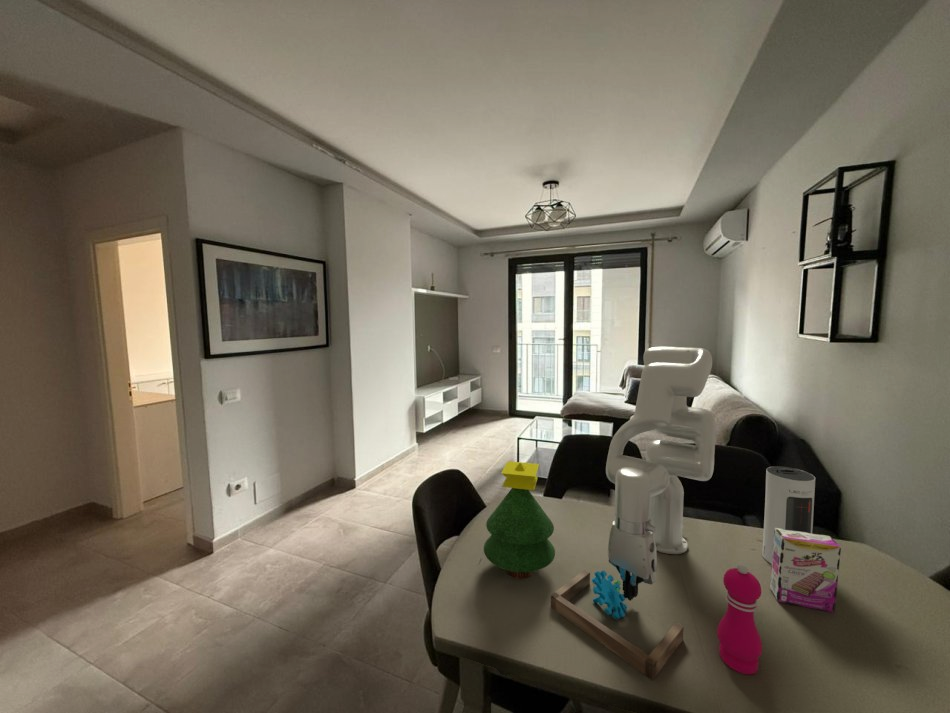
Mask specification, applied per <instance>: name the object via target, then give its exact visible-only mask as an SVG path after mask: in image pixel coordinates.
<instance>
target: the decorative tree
mask: <svg viewBox="0 0 950 713" xmlns="http://www.w3.org/2000/svg"><path fill="white" fill-rule="evenodd" d="M539 466H540V463H531V462H520V461H510V460H507V462H506V463H505V465H504V467H503V470H502V471H501V474H502V475H503V476H504V477H505V479H504V481H503V483H502V486H501V488H509V489H510V490H509V491H508V492H507V494H506V495H505V496H504V497H503V499H502V500H501V502H500V503H499V504H498V506H497V507H496V508H495V510H494V511H493V512H492V513H491V514H490V515H489V517H488V518H487V520H486V524H485V526H486V530H487V531H488V533H489V534H490V536H489V537H488V538H487V540H486V541H485V542H484V543H483V553H484V556H486V557H485V558H486V559H487V560H488V561H489V562H490V563H492V564H493V565H494V566H496V567H498V568H500V569H503V570H504V571H505V573H506V575H507V576H509V577H510V578H512V579H514V580H525V579H528V578H529V577H531V576H532V573H533V572H537V571H539V570H543V569H544V568H545V569H546V567H548V566H549V565H550V564H552V562H553V561H554V559H555V558H556V550H555V547H554V545H553V544H552V542H551V541H550V539H549V538H550V537H551V536H552V534H553V533H554V530H555V525H554V523H553V521H552V520H551V519H550V518H549V516H548V515H547V514H546V512H545V511H544V509H543V508H542V507H541V505H540V504H539V502H538V501H537V499H536V498H535V497H534V495H533V494H532V493H531V492H530V491H535V489H536V485H537V481H538V476H537V473H538V470H539Z"/></svg>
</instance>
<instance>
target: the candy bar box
mask: <svg viewBox="0 0 950 713" xmlns="http://www.w3.org/2000/svg"><path fill="white" fill-rule="evenodd" d="M841 553H842V546H841V545H840V544H839V543H837V541H835V540H834V539H833V538H832V537H831V536H830V535H825V534H820V533H819V534H818V533H814V532H812V533H806V532H799V531H793V530H786V529H780V528H775V530H774V542H773V554H772V564H771V568H770V571H771V572H770V579H769V580H770V583H769V590H770V591H771V593H772V595H773V596H774V598H775V600H776V601H777V602H778V603H784V604H790V605H793V606H794V605H795V606H799V607H804V608H809V609H815V610H817V611H818V610H819V611H825V612H828V613H835V611H836V601H837V592H838V591H837V590H838V583H839V582H838V579H839V571H840V562H841V561H840V560H841Z"/></svg>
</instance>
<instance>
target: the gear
mask: <svg viewBox="0 0 950 713" xmlns="http://www.w3.org/2000/svg"><path fill="white" fill-rule="evenodd" d="M606 576H607V577H606ZM614 580H615V579H614V576H613V575H612V574H607V572H606V571H605V570H600V571H596V572H594V577H593V578H591V582H592V584H594V585H595V586H594V587H593V588H592V590H593V591H592V592H593V594H595V595H598V596H596V597H594V598H592V601H593V604H595V603H596V604H598V605H599V606H603V605H604V604H605V605H606V606H607V607H606V608H604V612H605V613H606V615H607V616H610V615H612V618H613V619H614V620H616V621H617V620H620V619H621V618H624V617H626V614H625V611H627V610H628V606H627V605H626V604H625V603H624V602H625V601H626V598H625V597H624V593H621V585H622V584H621V581H620V580H619V579H618V580H616V581H614ZM613 581H614V582H613ZM612 582H613V583H612ZM612 611H613V613H612Z"/></svg>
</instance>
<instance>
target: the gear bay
mask: <svg viewBox="0 0 950 713" xmlns="http://www.w3.org/2000/svg"><path fill="white" fill-rule="evenodd" d="M590 580H591V572H589V571H588V570H587V569H584V570H583V571H581V572H580V573H579V574H577V575H575V577H573V578H572V579H570V580H569V581H567V582H566V583H565V584H564V585H562V586H561V587H560V588H558V589H557V590H556V591H554V592H553V593H552V594H550V608H551V609H553V610H554V611H555V612H557V613H559V614H560V615H561V616H563V617H564V618H565V619H567V620H568V621H570V622H571V623H572V624H573V625H575V626H576V627H578V628H579V629H580V630H582V631H583V632H584V633H586V634H587V635H589V636H590V637H592V638H593V639H595V640H596V641H597V642H598V643H600V644H601V645H603V646H604V647H605V648H606V649H608V650H610V651H611V652H613V653H614V654H615V655H617V656H618V657H620V658H621V659H622V660H624V662H626V663H628V664H629V665H630V666H632V667H634V668H635V669H636V670H638V671H639V672H640V673H642V674H643V675H644V676H646V677H647V678H648V679H650V680H652V681H654V680H655V678H656V677H657V676H658V674H659V673H660V672H661V670H662V669H663V668H664V666H665V665H666V664H667V662H668V661H669V660H670V658H671V657H672V655H673V654H674V653H675V651H676V650H677V649H678V647H679V645H680V644H681V643H682V642H683V640H684V629H685V628H684V625H683V624H680V623H679V622H675V623H674V624H673V625H672V627H671V628H670V629H669V630H668V631H667V633H666V634H665V635H664V636H663V638H662V639H661V640H660V641H659V642H658V644H657V645H656V646H655V648H653V650H652V651H651V652H650V654H647V653H646V652H644V651H643V650H642V649H640V648H639V647H637V646H636V645H634V644H632V643H631V642H629V641H628V640H626V638H624V637H622V636H621V635H619V634H618V633H616V632H615V631H614V630H612V629H610V628H609V627H607V626H606V625H604V624H603V623H601V622H600V621H599V620H597V619H595V618H594V617H592V616H591V615H589V614H588V613H586V611H583V610H582V609H581V608H580V607H578V606H577V605H575V604H573V603H572V602H570V600H572V599H573V598H574V597H575V596H576V595H577V594H579V593H580V592H581V591H583V589H585V588H586V587H587V586H589V585H590V584H591V581H590Z"/></svg>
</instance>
